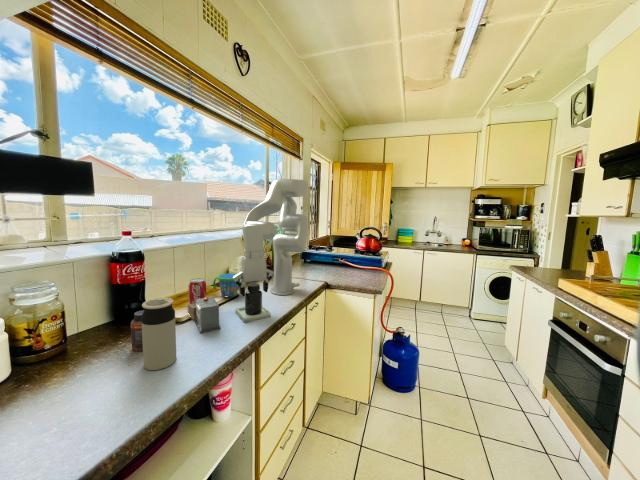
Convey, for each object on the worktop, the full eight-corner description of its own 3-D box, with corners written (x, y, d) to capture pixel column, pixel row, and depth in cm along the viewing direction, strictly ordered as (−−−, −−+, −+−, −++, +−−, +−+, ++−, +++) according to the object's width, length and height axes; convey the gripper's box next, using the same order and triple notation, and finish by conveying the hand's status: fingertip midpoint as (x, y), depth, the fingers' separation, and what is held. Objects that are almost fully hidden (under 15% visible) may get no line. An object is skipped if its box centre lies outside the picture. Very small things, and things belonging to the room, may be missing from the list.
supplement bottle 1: (157, 347, 81) (155, 312, 80) (134, 354, 77) (132, 318, 76) (151, 339, 85) (150, 307, 84) (129, 346, 81) (127, 312, 80)
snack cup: (248, 293, 134) (248, 274, 133) (240, 300, 124) (240, 279, 123) (219, 291, 135) (219, 272, 134) (209, 298, 125) (209, 277, 124)
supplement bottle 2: (251, 308, 113) (251, 281, 111) (264, 311, 110) (265, 283, 109) (241, 314, 106) (241, 285, 105) (255, 317, 104) (255, 288, 103)
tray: (260, 307, 116) (260, 303, 116) (270, 316, 107) (270, 312, 107) (235, 312, 110) (235, 308, 110) (243, 322, 101) (243, 318, 100)
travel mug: (158, 374, 69) (156, 309, 66) (136, 367, 71) (133, 305, 69) (182, 357, 76) (181, 299, 74) (161, 352, 79) (159, 295, 76)
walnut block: (200, 313, 108) (200, 301, 107) (206, 316, 105) (206, 304, 104) (188, 316, 104) (187, 304, 104) (193, 320, 101) (193, 308, 100)
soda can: (209, 305, 116) (209, 279, 114) (195, 310, 110) (194, 283, 108) (200, 302, 119) (200, 277, 118) (185, 306, 113) (185, 280, 112)
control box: (214, 317, 104) (213, 294, 103) (220, 328, 95) (220, 303, 94) (194, 321, 100) (194, 297, 99) (200, 333, 91) (199, 306, 90)
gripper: (269, 250, 113) (270, 287, 116) (229, 254, 104) (230, 294, 107) (277, 253, 107) (277, 292, 110) (235, 258, 97) (236, 300, 100)
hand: (254, 293), depth 108 cm, fingers open, 9 cm apart
